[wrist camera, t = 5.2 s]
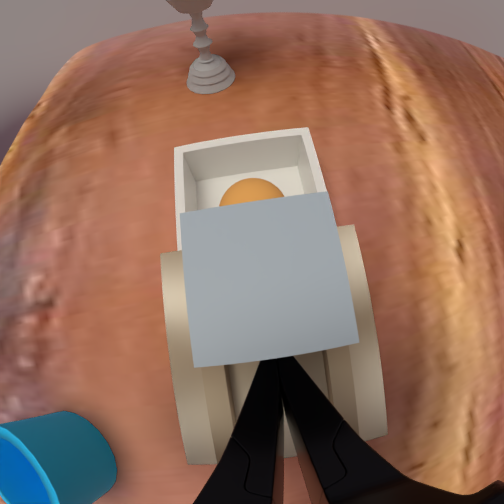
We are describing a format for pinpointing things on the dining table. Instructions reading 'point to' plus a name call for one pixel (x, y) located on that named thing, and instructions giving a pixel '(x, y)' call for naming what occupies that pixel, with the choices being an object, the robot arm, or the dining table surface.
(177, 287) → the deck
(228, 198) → the ball
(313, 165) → the white open storage bin
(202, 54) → the chalice
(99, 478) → the mug
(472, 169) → the dining table surface
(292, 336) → the grey rectangular block
